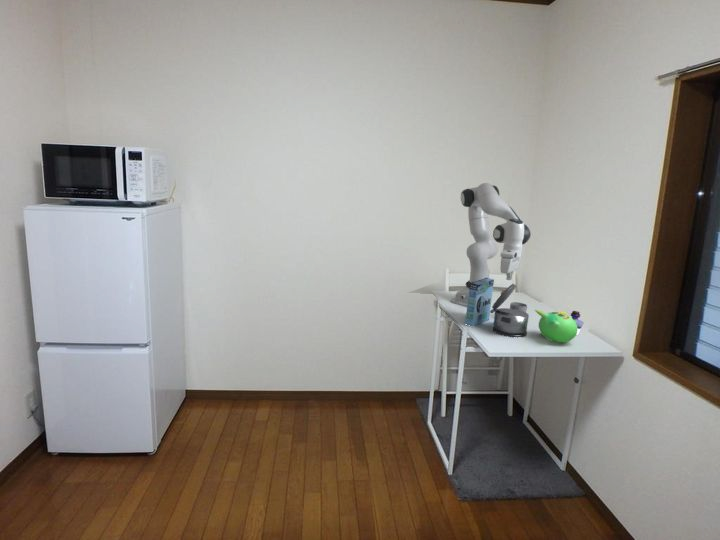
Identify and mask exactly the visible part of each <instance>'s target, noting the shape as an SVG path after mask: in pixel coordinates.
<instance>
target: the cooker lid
mask: <svg viewBox="0 0 720 540" xmlns="http://www.w3.org/2000/svg"><path fill="white" fill-rule="evenodd" d="M516 287H517V285H516V284H514V283H512V284H510V285H509V286H508V287H507V288H506V289H503V290H502V291H501V292H500V296H499V297H497V299H496V300H495V302H494V303H493V305H492V306H491V307H492V309H490V314H495V310H496V309H499V307H500V306H502V305H503V303H504V302H505V301H507V299H508V298H509V297H510V296H511V295H512V294H513V292H514V291H515V289H516Z"/></svg>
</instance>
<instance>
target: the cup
mask: <svg viewBox="0 0 720 540" xmlns="http://www.w3.org/2000/svg"><path fill="white" fill-rule="evenodd" d="M527 308H528V305H527V303H523V302H513V301H512V302H510V306H509V309H516V310H520V311H523V312H526V313H527Z"/></svg>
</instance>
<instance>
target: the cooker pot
mask: <svg viewBox="0 0 720 540" xmlns="http://www.w3.org/2000/svg"><path fill="white" fill-rule="evenodd" d="M529 316H530V315H529V313H527V311H526V312H523V311H520V310H516V309H510V307H508V308H507V307H506V308H505V307H503V308H497V309H496V310H495V312H494V317H493V325H492V332H494V333H495V334H497V333H498V334H497V335H499V334H500V335H499V336H502V335H504V336H503V337H507V336H508V337H509V338H514V337H517V338H518V337H521V338H525V337H526V336H528V335H527V334H528V332H527V330H528V325H529V324H528V323H529ZM508 337H507V338H508Z"/></svg>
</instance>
